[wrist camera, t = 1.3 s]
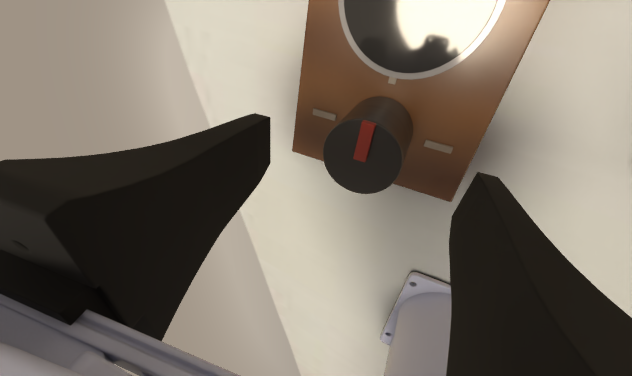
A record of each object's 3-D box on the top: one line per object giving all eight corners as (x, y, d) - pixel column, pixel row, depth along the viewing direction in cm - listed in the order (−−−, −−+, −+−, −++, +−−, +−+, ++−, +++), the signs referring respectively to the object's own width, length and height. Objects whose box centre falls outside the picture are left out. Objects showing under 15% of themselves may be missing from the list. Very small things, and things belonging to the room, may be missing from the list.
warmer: (446, 193, 20) (445, 216, 18) (305, 149, 22) (289, 164, 20) (580, -93, 12) (607, -115, 10) (341, -115, 14) (321, -136, 12)
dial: (401, 167, 17) (387, 207, 14) (341, 149, 18) (314, 183, 15) (423, 106, 15) (413, 135, 12) (354, 88, 16) (327, 111, 13)
